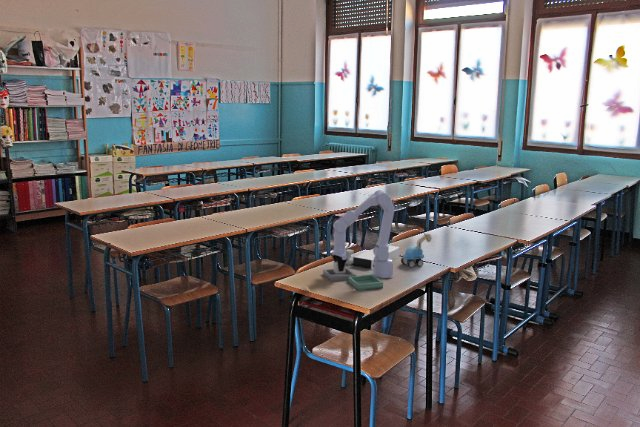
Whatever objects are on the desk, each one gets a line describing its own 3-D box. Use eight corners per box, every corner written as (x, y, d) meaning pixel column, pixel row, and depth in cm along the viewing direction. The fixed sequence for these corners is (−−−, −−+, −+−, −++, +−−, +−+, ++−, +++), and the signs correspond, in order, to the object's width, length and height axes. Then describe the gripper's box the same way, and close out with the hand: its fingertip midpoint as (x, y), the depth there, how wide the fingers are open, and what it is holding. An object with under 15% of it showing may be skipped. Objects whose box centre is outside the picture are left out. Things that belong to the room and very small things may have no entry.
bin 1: (346, 273, 292) (346, 267, 292) (355, 280, 280) (356, 274, 279) (323, 275, 288) (323, 269, 288) (331, 283, 276) (331, 277, 275)
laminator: (382, 254, 331) (382, 244, 330) (401, 257, 324) (401, 247, 323) (353, 268, 303) (353, 256, 302) (373, 271, 296) (373, 260, 295)
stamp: (358, 265, 307) (358, 250, 306) (351, 267, 302) (351, 252, 301) (345, 262, 313) (345, 247, 311) (338, 264, 308) (338, 249, 306)
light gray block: (342, 270, 286) (342, 260, 285) (345, 272, 282) (345, 262, 281) (333, 271, 285) (333, 261, 284) (336, 273, 281) (336, 263, 280)
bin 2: (372, 280, 281) (372, 274, 280) (382, 288, 268) (383, 282, 268) (348, 282, 277) (348, 276, 276) (357, 290, 264) (357, 284, 264)
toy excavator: (433, 265, 307) (435, 234, 304) (407, 268, 301) (408, 237, 298) (425, 261, 315) (426, 231, 312) (399, 264, 309) (400, 234, 306)
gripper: (327, 241, 286) (327, 266, 289) (337, 248, 273) (336, 274, 275) (340, 240, 288) (340, 265, 291) (350, 246, 275) (350, 273, 277)
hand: (339, 269), depth 283 cm, fingers closed on light gray block, 4 cm apart
